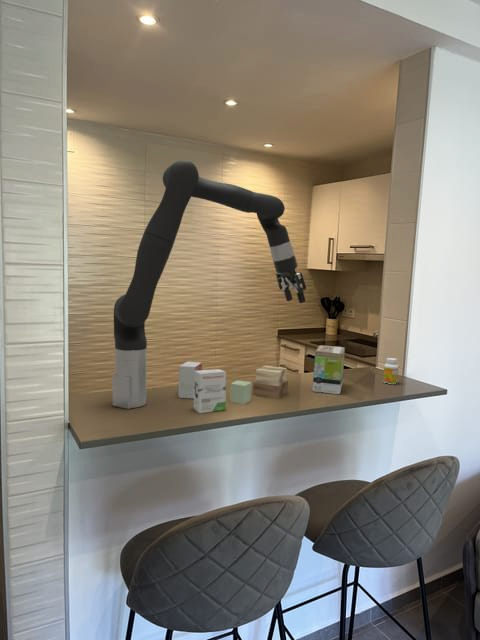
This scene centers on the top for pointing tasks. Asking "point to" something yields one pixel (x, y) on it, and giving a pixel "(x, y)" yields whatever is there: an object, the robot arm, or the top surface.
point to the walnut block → (270, 390)
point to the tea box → (328, 369)
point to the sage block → (240, 392)
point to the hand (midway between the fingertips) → (296, 301)
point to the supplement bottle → (391, 371)
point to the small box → (187, 378)
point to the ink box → (209, 390)
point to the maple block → (271, 375)
